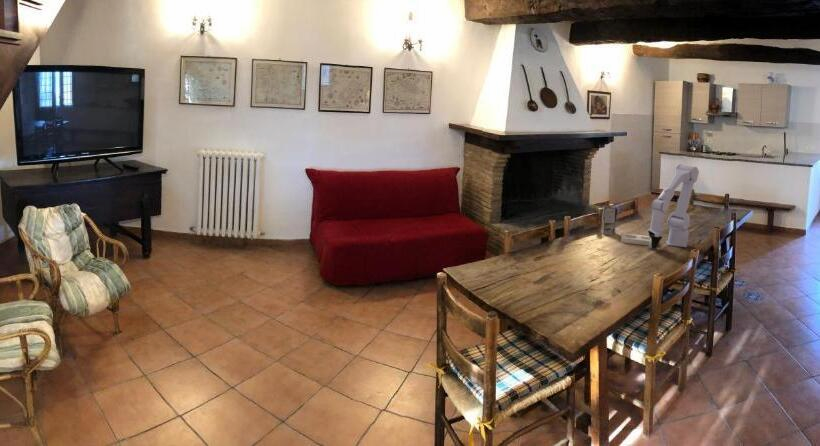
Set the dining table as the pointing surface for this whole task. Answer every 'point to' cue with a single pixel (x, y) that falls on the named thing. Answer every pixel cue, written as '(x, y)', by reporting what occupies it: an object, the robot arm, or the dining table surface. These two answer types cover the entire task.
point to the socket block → (635, 239)
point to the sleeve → (651, 246)
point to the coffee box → (608, 220)
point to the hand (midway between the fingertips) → (653, 246)
